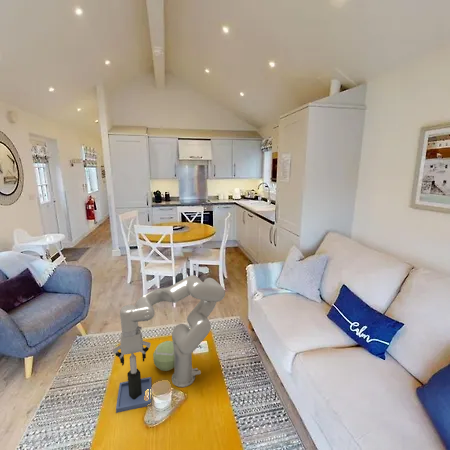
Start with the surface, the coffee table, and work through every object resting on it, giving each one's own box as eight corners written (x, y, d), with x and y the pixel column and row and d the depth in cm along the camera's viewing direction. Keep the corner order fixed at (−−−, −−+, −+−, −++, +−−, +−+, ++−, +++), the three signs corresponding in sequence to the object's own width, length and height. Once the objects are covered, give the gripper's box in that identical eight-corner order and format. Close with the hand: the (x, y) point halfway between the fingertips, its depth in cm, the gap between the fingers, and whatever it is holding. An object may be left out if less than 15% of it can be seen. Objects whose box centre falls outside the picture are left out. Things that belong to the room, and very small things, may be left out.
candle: (137, 388, 137) (134, 346, 132) (142, 393, 134) (139, 350, 128) (128, 394, 133) (124, 351, 128) (133, 400, 130) (130, 356, 125)
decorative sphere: (183, 358, 160) (182, 336, 156) (176, 377, 145) (175, 354, 142) (159, 356, 161) (158, 335, 158) (150, 375, 146) (148, 352, 143)
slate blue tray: (151, 380, 143) (151, 376, 143) (151, 405, 128) (151, 401, 128) (120, 386, 139) (119, 382, 139) (116, 412, 124) (115, 409, 123)
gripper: (149, 323, 132) (151, 353, 135) (112, 329, 127) (115, 359, 131) (149, 332, 124) (151, 363, 128) (109, 338, 120) (113, 370, 124)
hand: (133, 361), depth 130 cm, fingers open, 9 cm apart
